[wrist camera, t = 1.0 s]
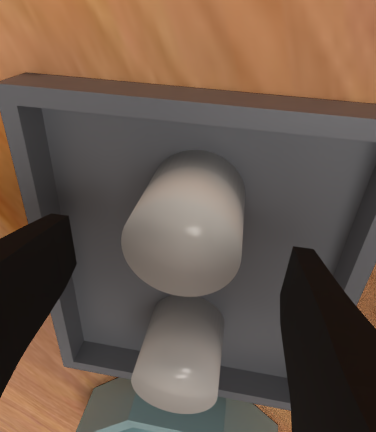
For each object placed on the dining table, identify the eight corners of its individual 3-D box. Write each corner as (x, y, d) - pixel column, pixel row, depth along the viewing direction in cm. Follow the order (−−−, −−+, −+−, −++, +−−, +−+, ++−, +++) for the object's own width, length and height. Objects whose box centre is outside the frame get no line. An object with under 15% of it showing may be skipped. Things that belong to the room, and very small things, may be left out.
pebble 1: (251, 155, 13) (250, 208, 10) (238, 238, 15) (233, 304, 12) (151, 144, 14) (117, 191, 10) (152, 226, 16) (124, 287, 13)
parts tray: (412, 107, 12) (438, 125, 10) (303, 380, 21) (307, 413, 19) (26, 72, 13) (-7, 83, 12) (78, 339, 22) (64, 366, 21)
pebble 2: (228, 300, 18) (221, 371, 14) (220, 349, 20) (213, 420, 16) (152, 288, 18) (129, 354, 15) (153, 337, 20) (132, 404, 17)
